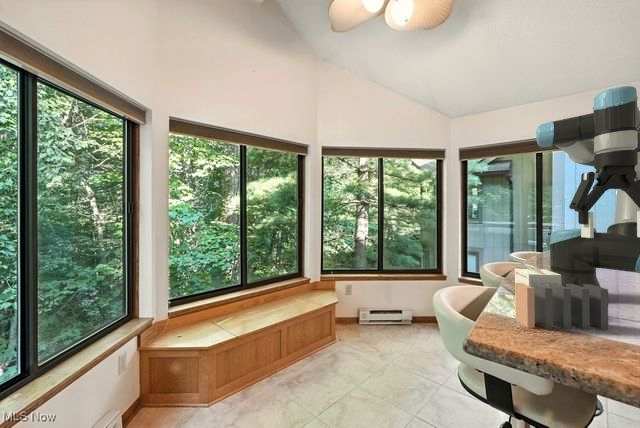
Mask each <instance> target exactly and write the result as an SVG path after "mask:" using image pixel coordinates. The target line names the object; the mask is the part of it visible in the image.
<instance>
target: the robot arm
mask: <svg viewBox="0 0 640 428" xmlns="http://www.w3.org/2000/svg"><path fill="white" fill-rule="evenodd" d="M638 100H639V97H638V91H637V88H636V87H635V86H632V85H624V86H616V87H614V88H610V89H607V90H602V91H601V92H599V93H598V94H596V95H595V97H594V98H593V105H592V110H593V112H591V113H586V114H582V115H577V116H572V117H567V118H563V119H558V120H554V121H552V120H551V121H549V122H545V123H541V124H539V125H538V126H537V128H536V132H535V139H536V143H537V145H538V147H539V148H550V147H551V148H552V147H554V146H555V147H557V148H558V149H560V150H562V151H563V152H565V153H566V154H567V156H568V158H569V159H570V161H573V162H574V163H577V164H578V165H583V166H588V167H593V168H594V169H595V172H594V171H587V172H583V173H581V178H580V183H579V185H578V187H577V189H576V192H575V193H574V195H573V198H572V200H571V201H570V204H569V206H568V208H569V209H570V210H574V211H575V212H578V213H577V214H578V215H577V219H578V224H579V225H580V228H571V229H560V230H554V231H552V232H551V234H550V237H549V238H550V240H549V254H550V255H549V257H550V258H549V259H550V261H549V262H550V268H549V269H550V270H549V271H551V272H554V273H557V274H560V275H561V283H562V286H564V287H566V284H575V285H578V286H581V287H583V284H591V285H595V286H598V287H601V288H602V286H601V284H600V282H599V279H598V278H597V277H598V276H597V269H603V270H612V271H620V272H621V271H622V272H628V273H637V274H640V130H639V129H640V109H639V107H638ZM595 180H596V183H595V184H594V182H595ZM591 189H592V190H591ZM609 190H617V198H616V205H615V206H616V207H615V214H614V215H615V216H614V223H612V224H610V225H609V226H608V227H607V229H606V232H597V229H596V228H594V211H590V210H591V209H592V208H593V207H594V206H595V205H596V203H597V202H598V201H599V200H600V198H601V197H602V196H603V195H604V194H605V192H607V191H609Z"/></svg>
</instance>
